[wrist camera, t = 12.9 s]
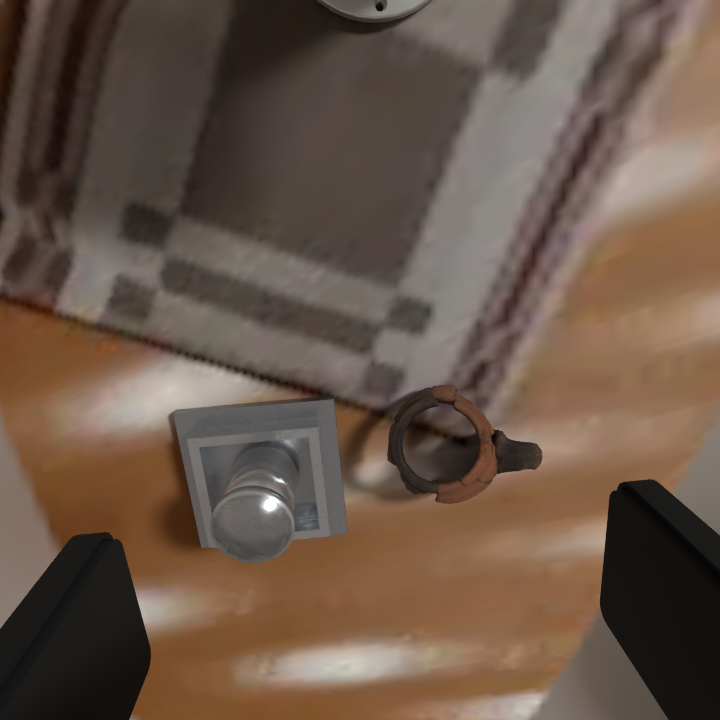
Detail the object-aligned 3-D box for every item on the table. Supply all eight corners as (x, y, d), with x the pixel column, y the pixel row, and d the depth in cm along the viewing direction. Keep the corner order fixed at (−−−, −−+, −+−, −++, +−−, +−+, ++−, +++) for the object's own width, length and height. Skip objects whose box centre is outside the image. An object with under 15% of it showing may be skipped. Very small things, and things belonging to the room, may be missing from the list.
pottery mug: (400, 495, 45) (382, 509, 37) (396, 391, 46) (378, 383, 38) (540, 496, 42) (553, 511, 34) (531, 385, 43) (542, 375, 35)
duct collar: (175, 409, 40) (164, 424, 38) (333, 395, 41) (333, 409, 38) (203, 541, 45) (195, 563, 42) (347, 527, 45) (347, 548, 42)
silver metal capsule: (257, 431, 41) (243, 476, 34) (314, 471, 42) (311, 522, 35) (214, 481, 42) (192, 534, 35) (271, 518, 43) (260, 576, 37)
